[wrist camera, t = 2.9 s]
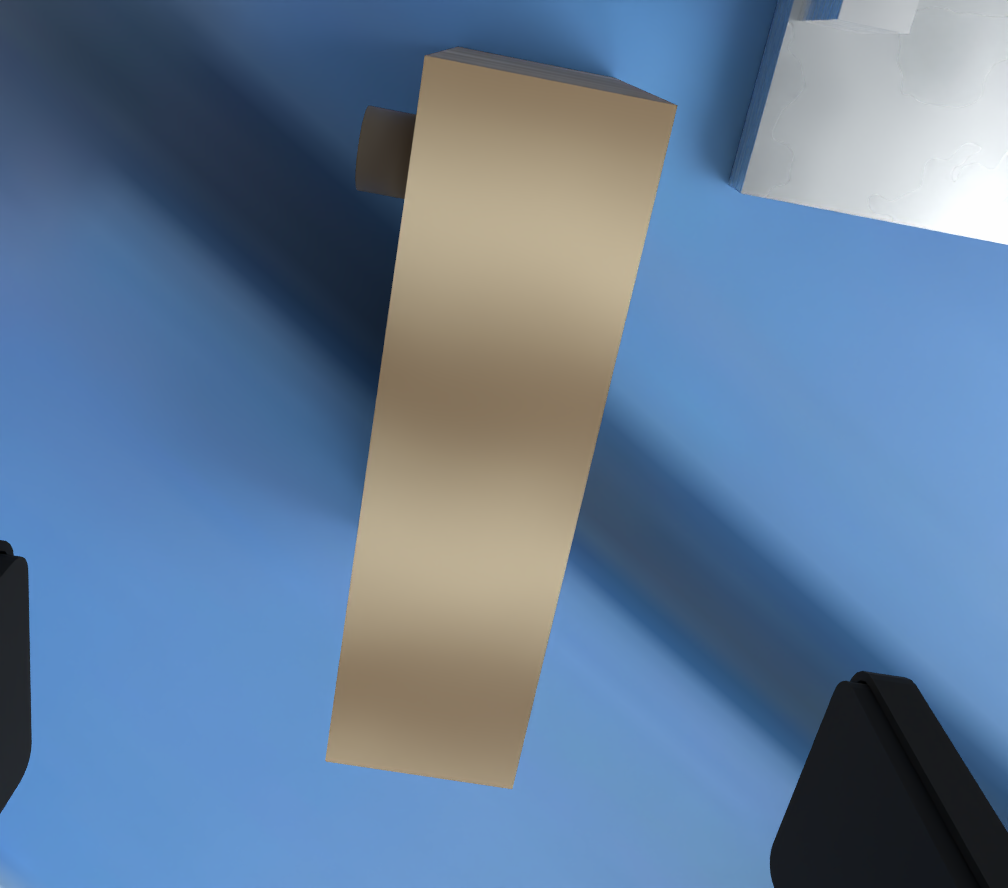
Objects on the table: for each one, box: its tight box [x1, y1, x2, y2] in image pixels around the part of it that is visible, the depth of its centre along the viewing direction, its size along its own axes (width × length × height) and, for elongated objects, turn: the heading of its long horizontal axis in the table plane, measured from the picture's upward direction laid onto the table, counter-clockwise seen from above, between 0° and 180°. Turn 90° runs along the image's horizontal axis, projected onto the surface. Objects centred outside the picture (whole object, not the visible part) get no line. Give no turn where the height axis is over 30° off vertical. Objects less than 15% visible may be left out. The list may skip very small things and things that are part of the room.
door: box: [325, 47, 677, 789], centre depth 22 cm, size 14×5×10 cm, turn 170°
